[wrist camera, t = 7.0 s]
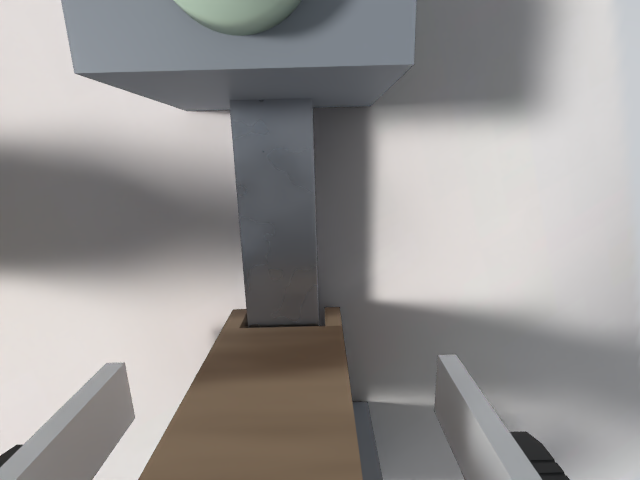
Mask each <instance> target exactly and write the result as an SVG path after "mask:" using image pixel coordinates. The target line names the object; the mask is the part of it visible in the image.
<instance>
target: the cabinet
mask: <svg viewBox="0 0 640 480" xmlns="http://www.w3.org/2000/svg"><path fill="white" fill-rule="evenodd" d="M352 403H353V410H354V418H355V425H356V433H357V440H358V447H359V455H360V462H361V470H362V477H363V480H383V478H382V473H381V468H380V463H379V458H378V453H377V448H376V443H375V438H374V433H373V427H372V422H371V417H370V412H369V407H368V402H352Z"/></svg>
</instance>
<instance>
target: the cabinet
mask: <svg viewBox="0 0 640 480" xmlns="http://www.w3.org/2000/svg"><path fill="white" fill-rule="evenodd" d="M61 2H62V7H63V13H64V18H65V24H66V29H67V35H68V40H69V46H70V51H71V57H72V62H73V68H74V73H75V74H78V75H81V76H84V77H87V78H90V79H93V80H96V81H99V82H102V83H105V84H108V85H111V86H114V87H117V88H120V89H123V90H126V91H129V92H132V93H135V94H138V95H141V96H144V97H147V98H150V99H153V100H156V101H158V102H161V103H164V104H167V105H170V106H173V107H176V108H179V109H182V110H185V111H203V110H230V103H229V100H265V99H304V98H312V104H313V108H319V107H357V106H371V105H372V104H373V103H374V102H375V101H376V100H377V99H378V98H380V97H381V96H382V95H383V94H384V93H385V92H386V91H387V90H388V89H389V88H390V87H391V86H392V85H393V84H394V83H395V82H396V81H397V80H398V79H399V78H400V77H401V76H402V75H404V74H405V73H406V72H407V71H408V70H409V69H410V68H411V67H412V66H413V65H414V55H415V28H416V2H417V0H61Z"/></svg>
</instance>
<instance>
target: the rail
mask: <svg viewBox="0 0 640 480" xmlns="http://www.w3.org/2000/svg"><path fill="white" fill-rule="evenodd" d="M229 103H230V115H231V127H232V139H233V151H234V163H235V175H236V187H237V199H238V211H239V223H240V235H241V247H242V260H243V272H244V284H245V296H246V308H247V320H248V328H262V327H304V326H319V306H318V271H317V235H316V199H315V163H314V127H313V104H312V98H304V99H265V100H229Z"/></svg>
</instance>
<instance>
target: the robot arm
mask: <svg viewBox="0 0 640 480" xmlns="http://www.w3.org/2000/svg"><path fill="white" fill-rule="evenodd" d="M434 412H435V414H436V416H437V418H438V421H439V423H440V425H441V427H442V429H443V432H444V434H445V436H446V438H447V440H448V443H449V445H450V447H451V449H452V452H453V454H454V456H455V458H456V460H457V463H458V465H459V467H460V469H461V472H462V474H463V476H464V478H465V480H570V479H569V478H568V477H567V476H565V474H564V472H563V470H562V469H561V468H560V466H559V465H558V464H557V463H555V461H554V459H553V457H552V456H551V455H550V453H549V452H548V451H547V450H546V448H545V447H544V446H543V444H541V443H540V442H539V441H538V440H536V439H535V438H534V437H532V436H531V435H530V434H529V433H527V432H509V431H508V429H507V428H506V426H505V425H504V423H503V422H502V420H501V419H500V418H499V416H498V415H497V413H496V412H495V410H494V409H493V407H492V406H491V404H490V403H489V402H488V400H487V399H486V397H485V396H484V394H483V393H482V391H481V390H480V388H479V387H478V386H477V384H476V383H475V381H474V380H473V378H472V377H471V375H470V374H469V372H468V371H467V370H466V368H465V367H464V365H463V364H462V362H461V361H460V359H459V358H458V356H457V355H456V354H455V355H438V360H437V375H436V390H435V404H434ZM134 419H135V415H134V409H133V404H132V399H131V393H130V388H129V382H128V377H127V372H126V366H125V363H106V364H105V365H104V366H103V367H102V368H101V369H100V370H99V371H98V372H97V373H96V374H95V375H94V376H93V377H92V378H91V379H90V380H89V381H88V382H87V383H86V384H85V385H84V386H83V387H82V388H81V389H80V390H79V391H78V392H77V393H76V394H75V395H74V396H73V397H71V398H70V399H69V400H68V401H67V402H66V403H65V404H64V405H63V406H62V407H61V408H60V409H59V410H58V411H57V412H56V413H55V414H54V415H53V416H52V417H51V418H50V419H49V420H48V421H47V422H46V423H45V424H44V425H43V426H42V427H41V428H40V429H39V430H38V431H37V432H36V433H35V434H34V435H33V436H32V437H31V438H30V439H29V440H28V441H27V442H26V443H25V444H24V445H16V446H14V447H13V448H11V449H10V450H8V451H7V452H5V453H4V454H2V455H1V456H0V480H92V479H93V478H94V476H95V475H96V473H97V472H98V471H99V469H100V468H101V466H102V465H103V463H104V462H105V460H106V459H107V458H108V456H109V455H110V453H111V452H112V450H113V449H114V448H115V446H116V445H117V443H118V442H119V440H120V439H121V437H122V436H123V435H124V433H125V432H126V430H127V429H128V427H129V426H130V425H131V423H132V422H133V420H134Z"/></svg>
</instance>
